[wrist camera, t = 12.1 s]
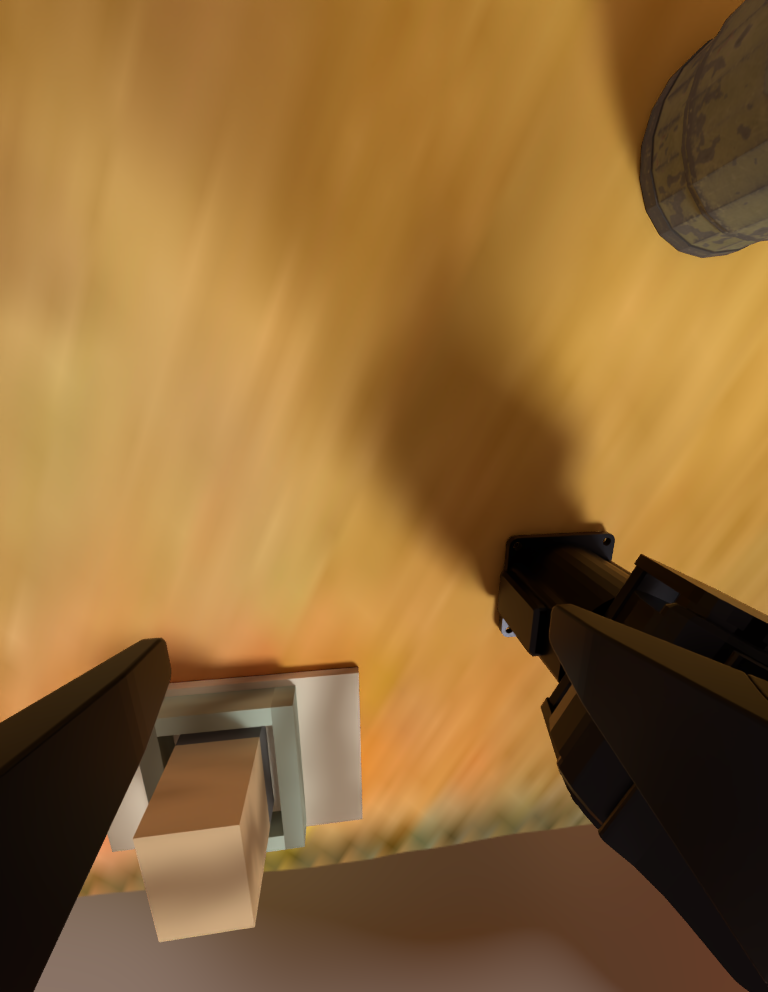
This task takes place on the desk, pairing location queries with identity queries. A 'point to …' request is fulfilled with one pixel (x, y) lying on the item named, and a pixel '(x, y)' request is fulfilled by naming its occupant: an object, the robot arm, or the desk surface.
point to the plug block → (207, 834)
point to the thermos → (713, 143)
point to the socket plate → (291, 745)
